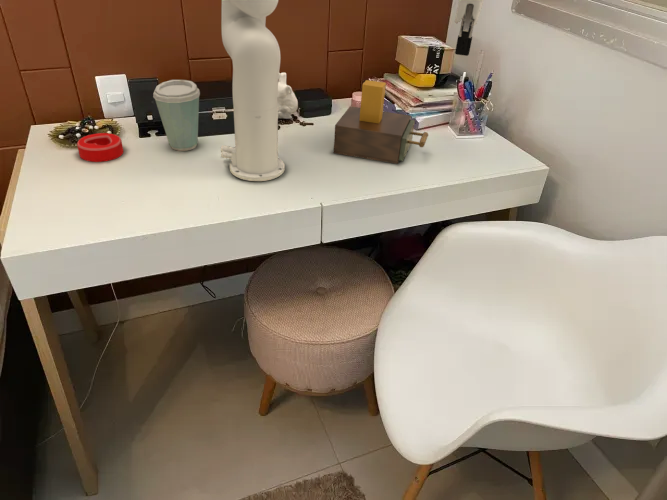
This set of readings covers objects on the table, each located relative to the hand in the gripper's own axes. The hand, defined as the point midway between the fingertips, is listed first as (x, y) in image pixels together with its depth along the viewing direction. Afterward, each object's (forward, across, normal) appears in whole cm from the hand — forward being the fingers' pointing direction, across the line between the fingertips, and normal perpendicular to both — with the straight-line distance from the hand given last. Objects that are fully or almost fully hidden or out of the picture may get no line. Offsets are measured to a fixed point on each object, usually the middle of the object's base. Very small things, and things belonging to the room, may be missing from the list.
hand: (461, 54), depth 125 cm
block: (+17, +7, -19) cm, 26 cm away
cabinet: (+24, +7, -18) cm, 31 cm away
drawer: (+23, +7, -14) cm, 28 cm away
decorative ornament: (+24, +36, -77) cm, 88 cm away
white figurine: (+24, -4, -46) cm, 52 cm away
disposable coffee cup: (+24, +25, -62) cm, 71 cm away
